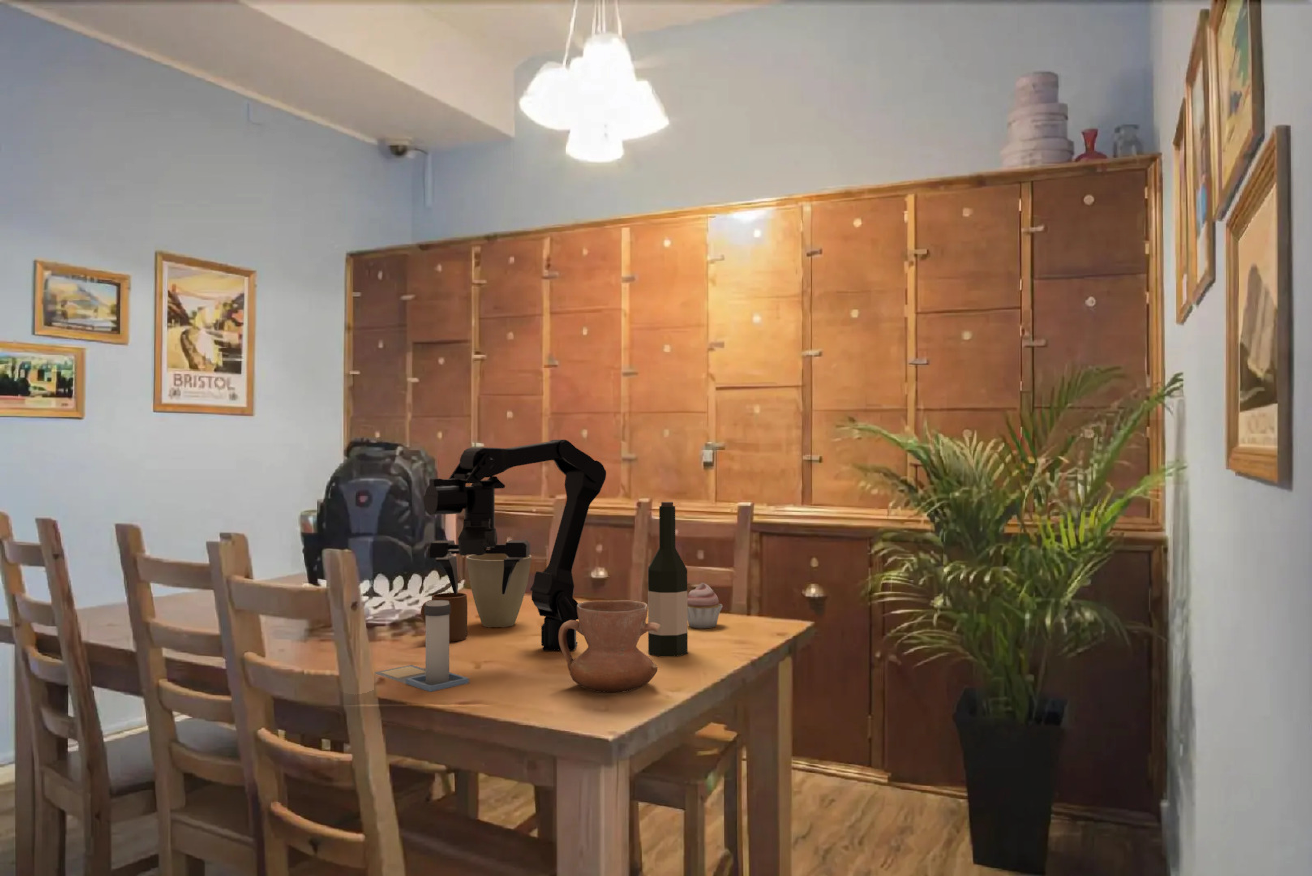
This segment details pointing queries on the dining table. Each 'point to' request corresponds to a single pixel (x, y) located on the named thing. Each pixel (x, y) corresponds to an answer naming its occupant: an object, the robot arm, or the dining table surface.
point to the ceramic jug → (610, 646)
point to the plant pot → (497, 588)
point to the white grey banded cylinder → (437, 641)
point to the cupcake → (703, 607)
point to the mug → (453, 614)
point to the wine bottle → (667, 591)
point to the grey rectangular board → (420, 678)
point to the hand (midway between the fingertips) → (479, 594)
